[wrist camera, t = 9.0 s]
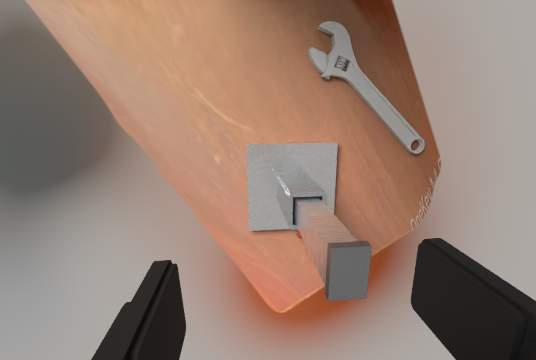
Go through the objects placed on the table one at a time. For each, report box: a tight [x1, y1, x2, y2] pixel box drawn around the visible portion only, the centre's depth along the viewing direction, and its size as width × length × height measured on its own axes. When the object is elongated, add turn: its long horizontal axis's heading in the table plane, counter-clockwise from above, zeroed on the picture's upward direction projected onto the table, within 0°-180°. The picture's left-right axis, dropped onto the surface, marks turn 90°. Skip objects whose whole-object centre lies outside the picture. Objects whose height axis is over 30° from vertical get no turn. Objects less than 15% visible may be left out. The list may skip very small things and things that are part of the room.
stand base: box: [246, 142, 338, 238], centre depth 37 cm, size 14×14×12 cm
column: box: [293, 196, 372, 301], centre depth 28 cm, size 4×3×18 cm
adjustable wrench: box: [308, 21, 425, 154], centre depth 40 cm, size 25×6×2 cm, turn 42°
